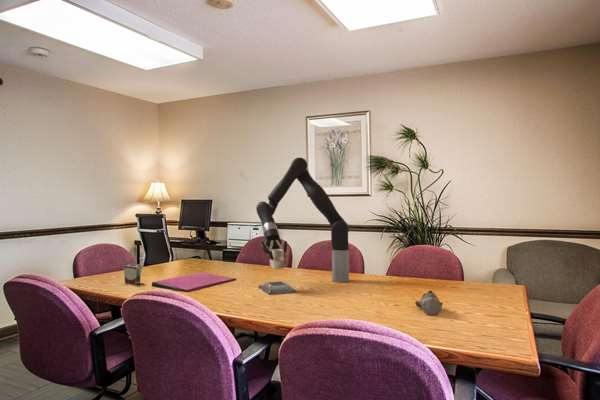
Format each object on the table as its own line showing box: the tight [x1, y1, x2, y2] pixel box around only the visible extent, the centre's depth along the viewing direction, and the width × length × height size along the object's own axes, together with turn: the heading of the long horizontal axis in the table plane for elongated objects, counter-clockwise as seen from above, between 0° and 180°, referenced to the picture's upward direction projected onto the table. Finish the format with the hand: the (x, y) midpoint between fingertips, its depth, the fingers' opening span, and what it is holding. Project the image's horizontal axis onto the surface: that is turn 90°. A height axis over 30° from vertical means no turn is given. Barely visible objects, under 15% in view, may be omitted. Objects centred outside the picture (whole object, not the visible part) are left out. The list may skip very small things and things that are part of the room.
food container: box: [122, 263, 143, 286], centre depth 218 cm, size 12×6×10 cm, turn 58°
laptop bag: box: [151, 272, 237, 293], centre depth 217 cm, size 40×4×27 cm
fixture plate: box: [258, 280, 297, 296], centre depth 200 cm, size 14×18×4 cm
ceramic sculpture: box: [414, 290, 443, 316], centre depth 159 cm, size 11×9×15 cm
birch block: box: [269, 249, 285, 270], centre depth 201 cm, size 5×7×9 cm
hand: (277, 258), depth 199 cm, fingers closed on birch block, 5 cm apart
